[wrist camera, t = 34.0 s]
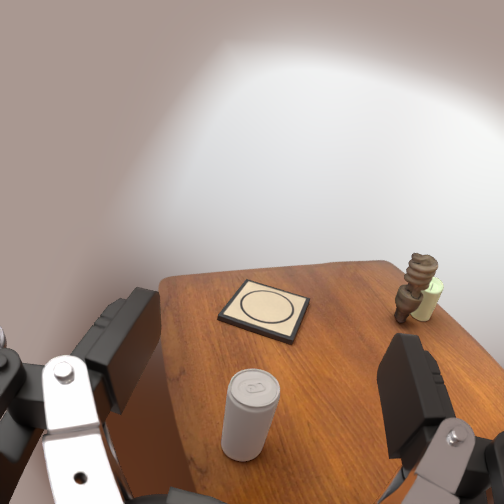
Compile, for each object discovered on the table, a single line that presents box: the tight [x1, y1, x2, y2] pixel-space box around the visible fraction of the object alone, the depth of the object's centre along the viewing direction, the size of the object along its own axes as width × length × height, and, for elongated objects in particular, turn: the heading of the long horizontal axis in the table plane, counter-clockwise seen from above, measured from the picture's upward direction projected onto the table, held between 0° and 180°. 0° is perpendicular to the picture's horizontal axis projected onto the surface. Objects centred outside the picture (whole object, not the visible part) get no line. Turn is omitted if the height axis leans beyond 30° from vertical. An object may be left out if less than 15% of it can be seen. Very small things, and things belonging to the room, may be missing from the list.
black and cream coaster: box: [217, 279, 310, 345], centre depth 57 cm, size 13×13×1 cm
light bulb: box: [394, 253, 438, 323], centre depth 54 cm, size 6×6×15 cm
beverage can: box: [221, 369, 280, 461], centre depth 30 cm, size 5×5×12 cm
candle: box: [410, 277, 444, 321], centre depth 59 cm, size 5×5×8 cm
